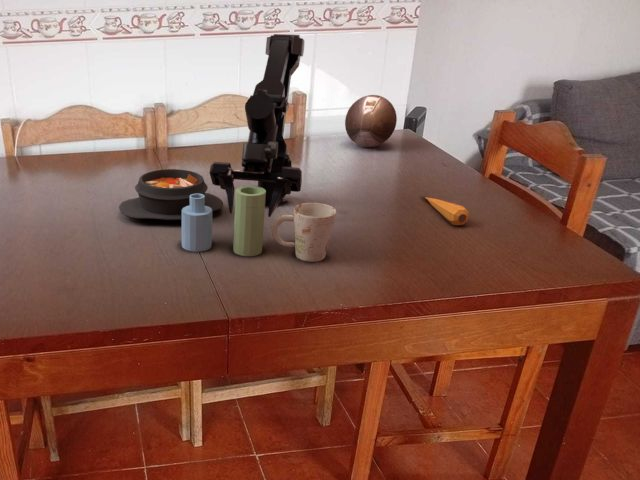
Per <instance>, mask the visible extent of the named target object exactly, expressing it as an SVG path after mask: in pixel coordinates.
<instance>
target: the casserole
mask: <svg viewBox="0 0 640 480" xmlns="http://www.w3.org/2000/svg"><path fill="white" fill-rule="evenodd" d="M134 190H135V192H136V193H137V194H138V197H134V198H129V199H126V200H124V201H122V202H121V203H120V204H119V206H118V209H119V211H120V212H121V213H122V214H123V215H125V216H127V217H129V218H132V219H140V220H147V219H149V220H151V219H152V220H160V221H168V222H169V221H171V222H172V221H173V222H174V221H182V209H183V208H184V207H186V206H190V195H191V194H203V195H205V206H208V207H210V208H212V212H214V211H219V210H220V209H222V208H223V207H224V201H223V200H222V199H221V198H220V197H218V196H217V195H215V194H212V193H209V192H207V191H208V185H207V183H206V182H205V179H204V177H203V175H201V174H199V173H198V172H195V171H192V170H187V169H175V168H166V169H156V170H151V171H148V172H146V173H143V174H142V175H140V177H139V178H138V181H137V183H136V184H135V186H134Z"/></svg>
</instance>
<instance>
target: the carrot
mask: <svg viewBox="0 0 640 480" xmlns="http://www.w3.org/2000/svg"><path fill="white" fill-rule="evenodd" d="M424 198H425V199H426V201H428V202H429V203H430V205H431V206H432V207H433V208H434V209H435V210H436V211H437V212H439V214H440V215H442V216H443V217H444V218H445V219H446V220H447V221H448V222H449V223H450V224H451V225H453V226H463V225H465V224H466V223H467V222H468V221H469V216H470V213H469V211H468V210H467V209H466V208H465V206H463V205H459V204H457V203H453V202H448V201H446V200H441V199H438V198H432V197H426V196H424Z"/></svg>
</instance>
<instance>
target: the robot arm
mask: <svg viewBox="0 0 640 480" xmlns="http://www.w3.org/2000/svg"><path fill="white" fill-rule="evenodd" d="M265 41H266V42H265V55H267V56H268V57H267V61H266V65H265V70H264V74H263V78H262V79H261V81H259V82H258V83H257V84H256V85H255V87H254V89H253V93H252V94H251V95H250V96H249V98H248V99H247V100H246V102H245V104H244V111H245V117H246V125H247V128H248V130H249V133H248V138H247V142H246V143H243V145H242V153H241V155H242V156H241V167H242V169H233V168H232V165H231V163H230V162H222V161H213V162H212V163H211V165H210V166H209V176H210V180H211V183H212V185H214V186H217V187H220V189H221V190H225V193H226V197H227V204H228V212H229V214H230V215H231V214H233V211H234V204H235V191H236V188H235V185H234V184H235V183H234V181H235V180H238V181H239V180H240V181H252V182H257V187H261V188H264V189H265V190H266V197H265V207H268V212H267V213H268V214H267V217H268V218H271V217H272V215H273V213H274V212H275V210H276V209H277V207H278V205H280V204H284V203H288V199H286V198H285V197H286V195H288V196H290V195H291V194H292V192H294V193H299V192H301V189H302V185H303V184H302V182H303V171H302V170H301V168H300V167H296V166H295V167H293V161H292V159H291V157H290V155H291V154H289V149H288V145H287V142H286V140H285V138H284V135H285V134H284V133H285V127H286V126H285V125H286V119H287V112H288V110H289V107H290V102H289V95H290V87H291V79H292V76H293V75H294V73H295V72H296V71H297V69H298V68H299V66H300V64H301V63H300V62H301V57H303V56H304V53H305V39H304V38H302V37H301V35H300V34H287V33H286V34H285V33H273V34H272V35H271V34H270V36H267V37H266V40H265Z"/></svg>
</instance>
